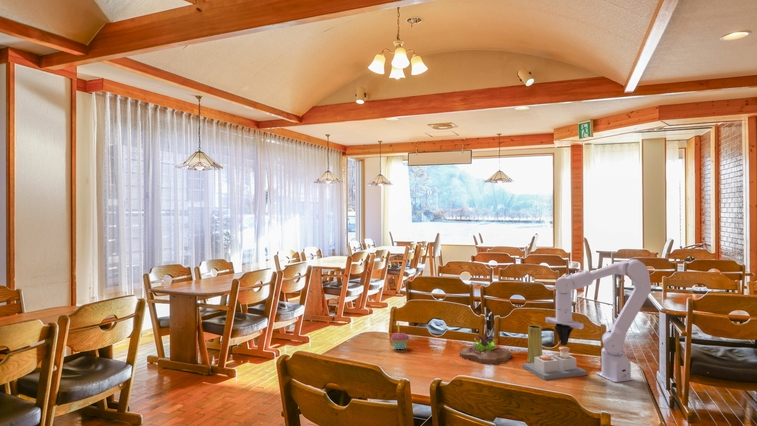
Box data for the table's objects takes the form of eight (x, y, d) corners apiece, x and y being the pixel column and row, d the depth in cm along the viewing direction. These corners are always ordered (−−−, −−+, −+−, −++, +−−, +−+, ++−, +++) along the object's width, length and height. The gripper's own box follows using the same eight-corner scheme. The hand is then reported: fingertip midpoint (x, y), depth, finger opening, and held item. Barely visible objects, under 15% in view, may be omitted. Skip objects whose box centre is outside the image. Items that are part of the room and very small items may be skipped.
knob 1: (553, 370, 171) (553, 357, 171) (544, 371, 170) (544, 358, 170) (547, 366, 175) (547, 354, 175) (538, 367, 174) (538, 355, 174)
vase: (525, 362, 185) (525, 327, 185) (528, 358, 190) (528, 324, 191) (541, 364, 182) (541, 329, 182) (544, 360, 188) (543, 325, 188)
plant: (519, 356, 194) (519, 330, 194) (493, 367, 181) (493, 339, 181) (479, 347, 208) (479, 322, 209) (452, 356, 195) (452, 330, 195)
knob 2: (571, 361, 174) (571, 348, 174) (563, 362, 173) (563, 349, 173) (565, 358, 177) (565, 346, 177) (556, 359, 176) (556, 347, 176)
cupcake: (387, 347, 208) (387, 321, 208) (403, 345, 212) (403, 319, 212) (396, 352, 200) (395, 325, 200) (413, 350, 204) (412, 323, 204)
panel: (586, 375, 170) (586, 360, 170) (544, 379, 166) (544, 364, 166) (562, 363, 184) (561, 349, 184) (522, 367, 179) (522, 353, 179)
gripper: (587, 310, 172) (587, 346, 172) (552, 304, 183) (552, 338, 183) (577, 313, 167) (577, 350, 167) (542, 307, 179) (542, 341, 179)
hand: (564, 344), depth 175 cm, fingers closed
